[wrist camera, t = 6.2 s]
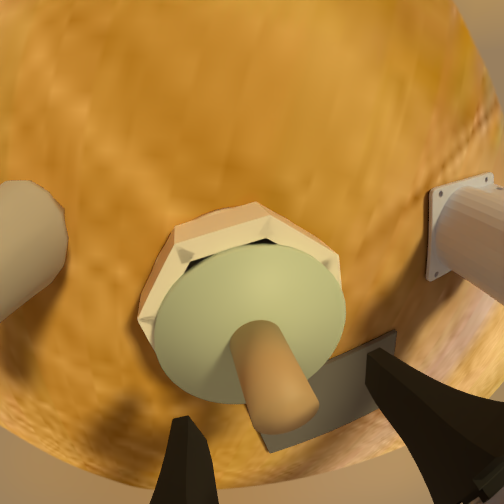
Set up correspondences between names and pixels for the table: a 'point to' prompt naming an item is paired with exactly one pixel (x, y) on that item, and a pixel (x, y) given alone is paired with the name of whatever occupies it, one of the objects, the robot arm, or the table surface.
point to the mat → (336, 394)
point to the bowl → (222, 249)
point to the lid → (252, 331)
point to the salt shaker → (28, 242)
